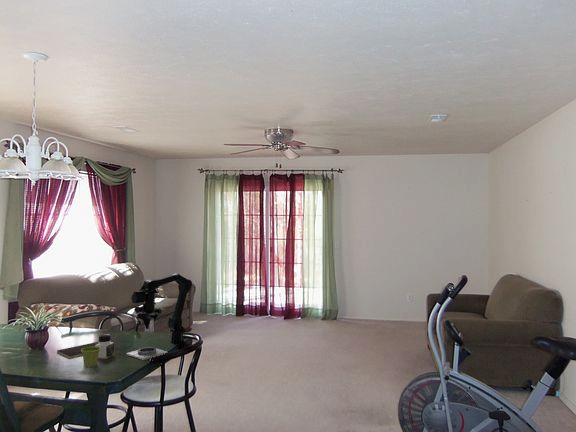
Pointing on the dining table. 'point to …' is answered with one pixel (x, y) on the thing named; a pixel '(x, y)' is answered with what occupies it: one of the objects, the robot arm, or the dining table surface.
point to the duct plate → (143, 357)
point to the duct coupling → (150, 326)
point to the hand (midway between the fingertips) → (149, 327)
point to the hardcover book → (75, 350)
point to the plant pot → (90, 356)
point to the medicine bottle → (105, 346)
